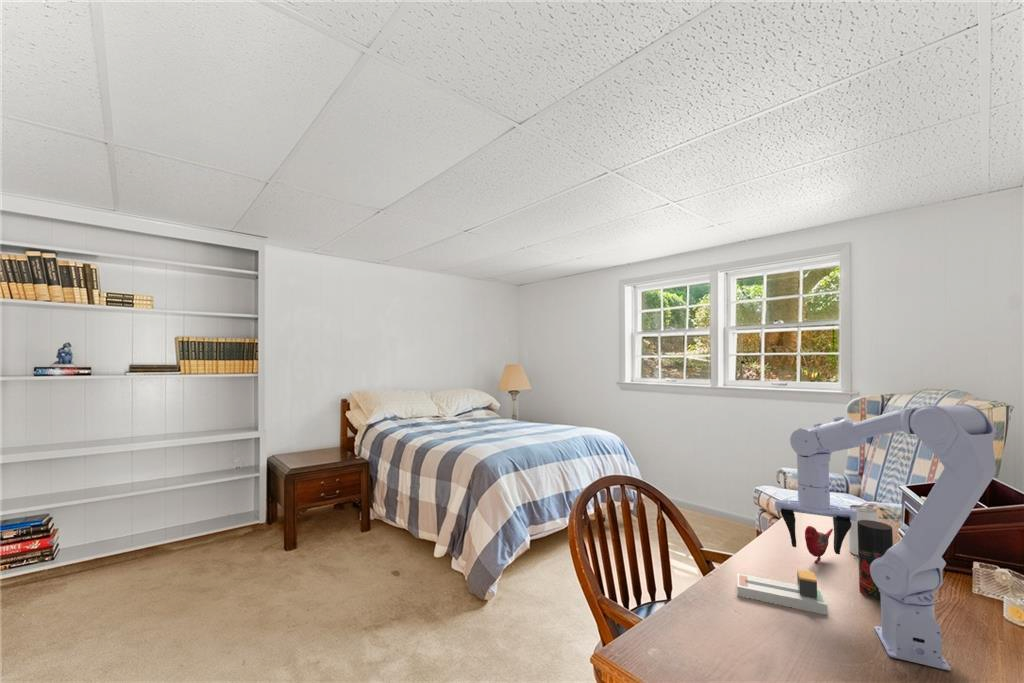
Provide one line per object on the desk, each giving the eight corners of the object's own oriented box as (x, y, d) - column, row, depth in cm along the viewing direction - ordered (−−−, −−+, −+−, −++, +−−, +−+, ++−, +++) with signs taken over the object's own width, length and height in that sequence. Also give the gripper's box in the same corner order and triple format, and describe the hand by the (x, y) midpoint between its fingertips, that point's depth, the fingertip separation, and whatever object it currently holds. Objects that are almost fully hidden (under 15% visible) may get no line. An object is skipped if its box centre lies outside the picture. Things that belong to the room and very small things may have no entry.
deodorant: (901, 603, 94) (898, 530, 94) (869, 600, 95) (866, 528, 96) (884, 589, 100) (881, 521, 100) (853, 586, 101) (851, 519, 101)
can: (878, 553, 119) (876, 507, 120) (882, 562, 114) (880, 513, 114) (848, 547, 123) (846, 503, 123) (850, 556, 117) (848, 509, 118)
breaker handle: (817, 597, 91) (816, 580, 91) (799, 594, 93) (799, 577, 93) (814, 588, 95) (813, 572, 95) (797, 585, 96) (797, 569, 96)
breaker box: (827, 615, 89) (827, 604, 89) (737, 596, 96) (737, 586, 96) (821, 598, 95) (821, 588, 96) (737, 582, 103) (737, 572, 103)
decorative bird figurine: (800, 568, 110) (799, 526, 111) (826, 550, 121) (825, 512, 121) (813, 572, 108) (812, 530, 108) (839, 554, 118) (838, 515, 119)
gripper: (850, 484, 97) (852, 548, 96) (773, 476, 103) (774, 536, 103) (858, 492, 91) (860, 561, 90) (775, 483, 97) (776, 547, 96)
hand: (815, 548), depth 96 cm, fingers open, 7 cm apart
